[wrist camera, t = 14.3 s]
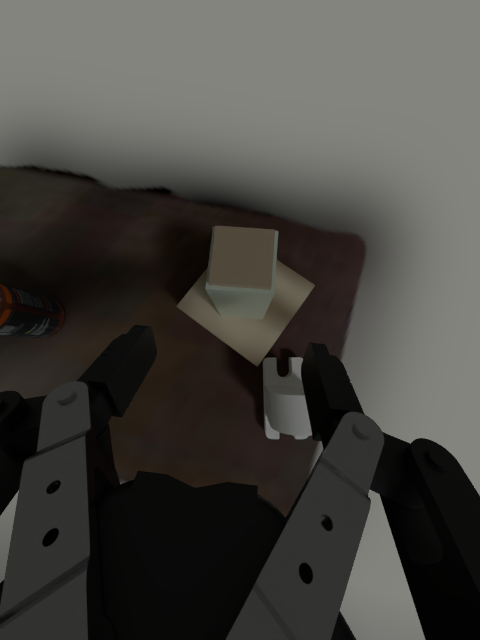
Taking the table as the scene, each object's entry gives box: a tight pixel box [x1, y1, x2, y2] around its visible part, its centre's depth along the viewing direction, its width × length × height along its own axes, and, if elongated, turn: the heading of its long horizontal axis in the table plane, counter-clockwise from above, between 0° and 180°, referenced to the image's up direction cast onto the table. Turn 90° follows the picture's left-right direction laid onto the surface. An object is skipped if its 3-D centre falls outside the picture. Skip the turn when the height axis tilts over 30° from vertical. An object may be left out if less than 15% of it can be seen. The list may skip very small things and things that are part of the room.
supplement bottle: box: [0, 284, 65, 338], centre depth 26 cm, size 6×6×11 cm
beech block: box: [177, 260, 315, 367], centre depth 29 cm, size 12×12×6 cm
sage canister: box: [205, 226, 278, 319], centre depth 20 cm, size 5×5×11 cm
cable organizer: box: [263, 357, 312, 439], centre depth 24 cm, size 5×10×10 cm, turn 0°
